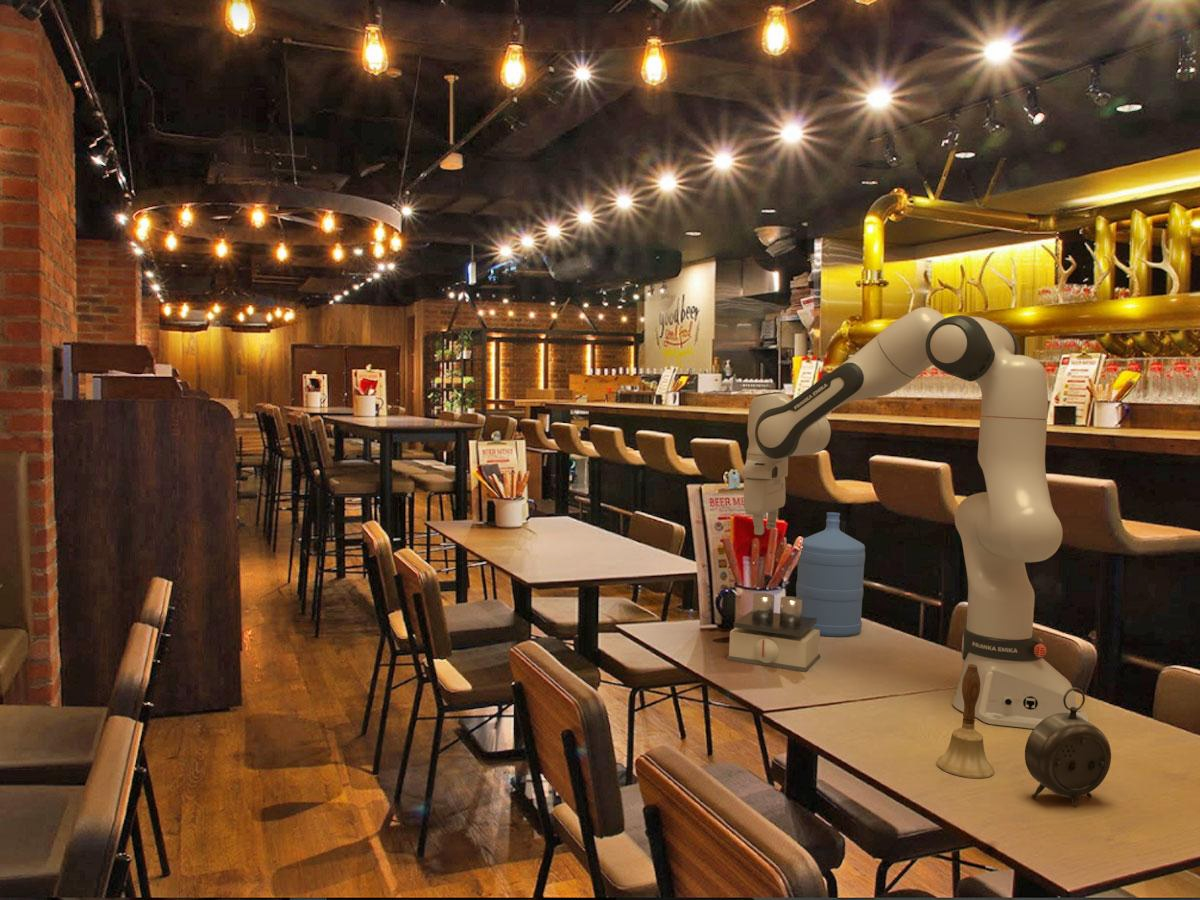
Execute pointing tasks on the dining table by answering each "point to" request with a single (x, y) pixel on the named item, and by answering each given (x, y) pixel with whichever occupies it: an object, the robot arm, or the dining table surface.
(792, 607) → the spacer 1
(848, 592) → the water jug
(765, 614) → the small glass cup
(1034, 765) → the alarm clock
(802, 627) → the pan
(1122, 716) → the dining table surface
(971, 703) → the hand bell
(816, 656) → the scale body
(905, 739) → the dining table surface
